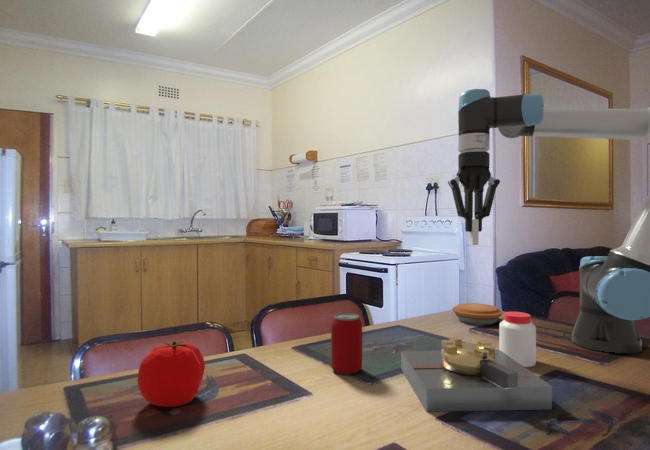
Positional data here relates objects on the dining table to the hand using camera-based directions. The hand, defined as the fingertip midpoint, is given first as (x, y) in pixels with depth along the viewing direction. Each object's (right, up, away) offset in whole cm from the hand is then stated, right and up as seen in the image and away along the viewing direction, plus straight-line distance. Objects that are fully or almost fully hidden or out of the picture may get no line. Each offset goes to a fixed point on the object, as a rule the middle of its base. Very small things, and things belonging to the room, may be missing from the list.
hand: (473, 244), depth 107 cm
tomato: (-66, -27, -31) cm, 78 cm away
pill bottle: (+6, -27, -10) cm, 29 cm away
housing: (-10, -27, -25) cm, 38 cm away
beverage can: (-33, -27, -16) cm, 46 cm away
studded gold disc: (-9, -23, -28) cm, 37 cm away
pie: (+11, -26, +28) cm, 40 cm away
